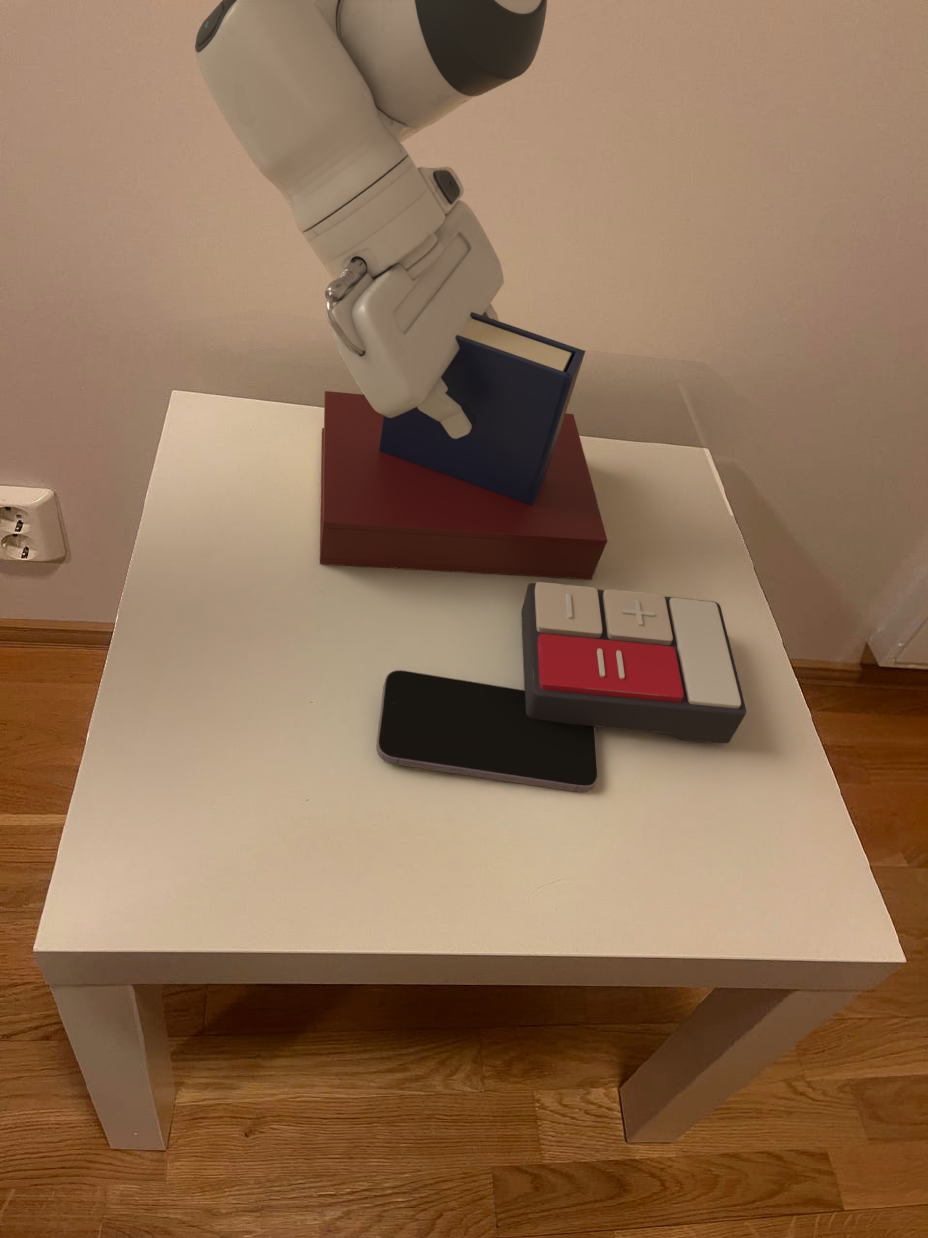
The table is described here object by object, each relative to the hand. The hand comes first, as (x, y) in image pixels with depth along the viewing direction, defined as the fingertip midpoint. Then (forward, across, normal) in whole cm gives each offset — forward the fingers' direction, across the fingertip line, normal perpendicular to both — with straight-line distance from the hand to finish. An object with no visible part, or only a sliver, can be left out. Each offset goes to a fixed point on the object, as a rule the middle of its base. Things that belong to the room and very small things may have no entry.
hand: (485, 398), depth 69 cm
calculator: (+20, -12, -4) cm, 23 cm away
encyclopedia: (+7, 0, +8) cm, 11 cm away
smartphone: (+15, -21, +2) cm, 26 cm away
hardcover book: (+4, 0, +5) cm, 7 cm away
